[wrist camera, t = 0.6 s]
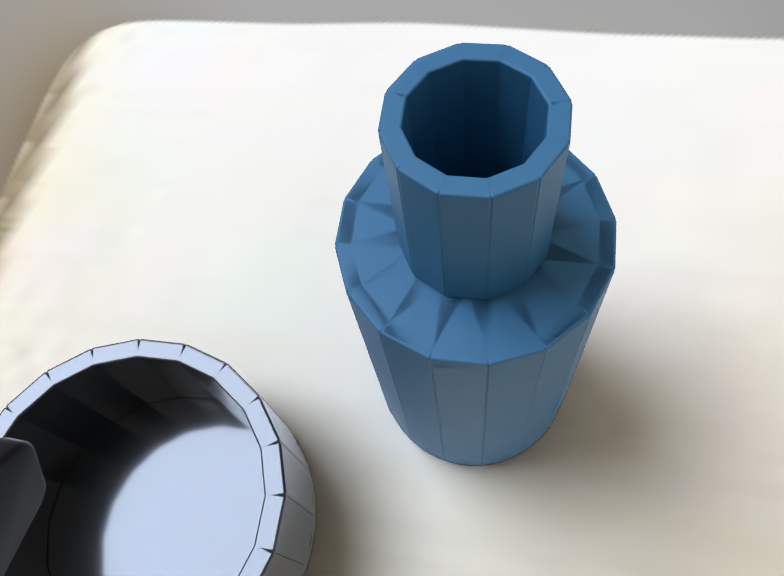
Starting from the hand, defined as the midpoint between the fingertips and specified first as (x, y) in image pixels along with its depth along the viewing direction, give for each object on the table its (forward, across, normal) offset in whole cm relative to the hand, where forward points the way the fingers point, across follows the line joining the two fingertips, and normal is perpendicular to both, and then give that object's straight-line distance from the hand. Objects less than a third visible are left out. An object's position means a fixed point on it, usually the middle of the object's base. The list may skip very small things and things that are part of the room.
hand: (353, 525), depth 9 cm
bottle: (+14, 0, +8) cm, 16 cm away
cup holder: (+8, +8, +12) cm, 17 cm away
